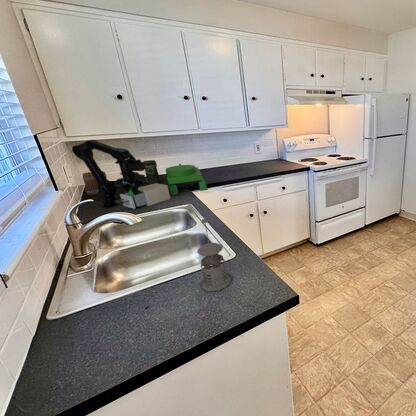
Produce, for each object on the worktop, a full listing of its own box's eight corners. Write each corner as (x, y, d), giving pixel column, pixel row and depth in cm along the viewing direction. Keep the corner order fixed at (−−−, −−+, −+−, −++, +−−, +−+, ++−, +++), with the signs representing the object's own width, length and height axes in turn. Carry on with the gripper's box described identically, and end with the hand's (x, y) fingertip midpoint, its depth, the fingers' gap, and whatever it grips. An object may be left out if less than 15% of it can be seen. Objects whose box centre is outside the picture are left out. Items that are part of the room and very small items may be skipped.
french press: (205, 295, 90) (191, 228, 81) (197, 278, 99) (183, 215, 89) (234, 284, 95) (224, 220, 86) (224, 268, 104) (214, 209, 95)
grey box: (149, 205, 170) (145, 191, 166) (137, 202, 175) (133, 188, 172) (170, 198, 182) (167, 185, 178) (159, 196, 187) (155, 183, 184)
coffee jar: (161, 181, 225) (156, 159, 218) (160, 183, 218) (154, 160, 211) (148, 182, 222) (142, 160, 215) (146, 184, 215) (140, 161, 208)
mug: (95, 195, 190) (88, 175, 185) (83, 194, 192) (76, 174, 187) (115, 189, 204) (109, 169, 199) (104, 188, 207) (97, 169, 201)
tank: (202, 179, 229) (198, 160, 223) (207, 189, 200) (203, 168, 194) (169, 183, 217) (165, 163, 211) (170, 195, 189) (165, 172, 183)
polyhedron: (134, 198, 165) (132, 190, 163) (127, 197, 165) (125, 190, 164) (141, 195, 169) (139, 188, 167) (134, 195, 170) (132, 188, 168)
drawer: (125, 211, 159) (121, 199, 156) (115, 208, 164) (111, 196, 161) (155, 202, 174) (152, 190, 171) (145, 199, 179) (142, 188, 176)
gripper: (149, 169, 164) (155, 193, 169) (132, 166, 172) (138, 189, 178) (130, 173, 155) (137, 198, 160) (112, 170, 163) (120, 194, 168)
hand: (133, 195), depth 167 cm, fingers closed on polyhedron, 5 cm apart
